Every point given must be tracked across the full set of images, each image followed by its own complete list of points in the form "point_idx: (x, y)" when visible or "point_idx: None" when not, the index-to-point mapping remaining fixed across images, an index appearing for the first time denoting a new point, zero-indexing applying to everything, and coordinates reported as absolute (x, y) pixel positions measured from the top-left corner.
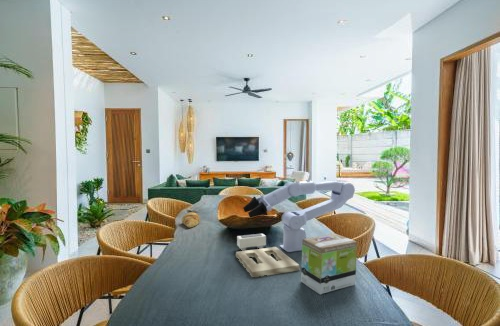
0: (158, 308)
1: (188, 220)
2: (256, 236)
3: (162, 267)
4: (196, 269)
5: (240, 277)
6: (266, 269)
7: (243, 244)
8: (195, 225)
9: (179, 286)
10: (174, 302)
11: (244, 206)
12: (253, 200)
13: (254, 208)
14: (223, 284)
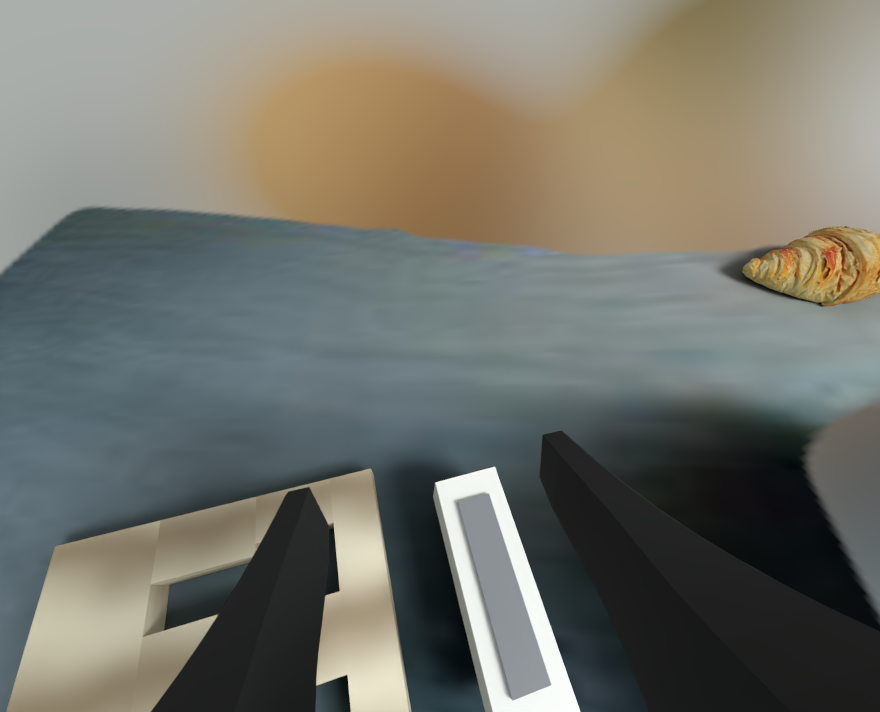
0: (69, 263)
1: (786, 251)
2: (490, 631)
3: (328, 244)
4: (279, 325)
5: (122, 486)
6: (31, 647)
7: (440, 516)
8: (791, 294)
9: (169, 291)
10: (75, 289)
11: (575, 444)
12: (703, 631)
13: (262, 605)
14: (100, 414)
